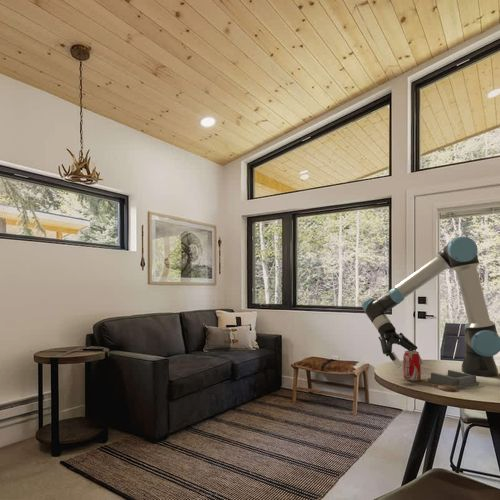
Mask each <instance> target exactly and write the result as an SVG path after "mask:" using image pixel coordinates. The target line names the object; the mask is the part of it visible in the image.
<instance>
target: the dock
mask: <svg viewBox="0 0 500 500" xmlns="http://www.w3.org/2000/svg"><path fill="white" fill-rule="evenodd" d="M427 381H428V382H429V383H434V384H437V385H440V384H446V385H452V386H456V387H457V390H462V389H466V388H472V387H478V386H479V385H480V381H477V375H473V374H468V373H465V372H462V371H461V372H460V371H457V370H451V369H448V370H447V374H446V375H445V374H441V373H436V372H430V377H428V379H427Z"/></svg>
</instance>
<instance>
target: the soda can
mask: <svg viewBox="0 0 500 500" xmlns="http://www.w3.org/2000/svg"><path fill="white" fill-rule="evenodd" d="M420 358H421V355H420V352H419V351H417V350H416V351H408V350H405V351H404V354H403V359H402V360H403V363H402V366H403V367H402V368H403V369H402V370H403V378H404V379H405V380H406V381H411V382H418V381H419V380H421V375H422V372H421V371H422V370H421V369H422V368H421V367H422V364H421V360H420Z"/></svg>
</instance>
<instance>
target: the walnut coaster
mask: <svg viewBox="0 0 500 500" xmlns="http://www.w3.org/2000/svg"><path fill="white" fill-rule="evenodd" d="M437 389H438V390H441V391H442V392H453V393H454V392H457V391H458V389H457V387H456V386H452V385H446V384H437Z"/></svg>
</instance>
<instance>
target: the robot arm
mask: <svg viewBox="0 0 500 500" xmlns="http://www.w3.org/2000/svg"><path fill="white" fill-rule="evenodd" d="M478 250H479V249H478V246H477V243H476V242H475V241H474V240H473V239H472V238H470V237H467V236H456V237H454V238H452V239H451V240H450V241H449V242H447V244H446V245H445V247H443V248H442V249H441V250H440V251H439V252H437V253H436V256H435V257H434V258H433V259H431V260H430V261H428V262H427V263H425V264H423V266H421V267H420V268H418V269H417V270H415V271H414V272H413V273H412V274H410V275H409V276H407V277H406V278H404V279H403V280H402V281H401V282H399V283H397V284H396V285H395V286H393V287H392V288H391V289H389V290H387V291H386V292H384V294H382V295H381V296H380V297H378V298H376V299H375V298H373V297H371V298H368V299H365V300H364V301H363V302H362V305H361V307H362V309H363V311H364V313H365V315H366V316H367V318H368V319H369V320H370V322H371V323H372V325H373V326H374V328H375V329H376V330H377V332H378V334H379V337H378V340H379V341H380V345H381V346H380V347H381V351H382V354H383V355H385V356H386V357H389V359H390V360H391V361H392V362H393V364H394V365H395V366H396V368H397V369H400V368H401V366H403V363H402V362H401V360H400V359H399V358H398V356H397V354H396V353H395V352H394V351H393V345H398V346H401V347H402V348H403V349H405V350H406V351H416V352H417V349H418V346H417V345H416V344H414V343H413V342H412V341H411V340H410V339H408V337H406V336H405V335H404V334H403V332H400V333H397V332H396V330H397V329H396V327H395V326H394V324H393V323H392V322H391V320H390V319H389V317H388V316H387V314H386V313H387V312H388V311H390V310H392V309H393V308H395V307H397V306H398V305H399V304H401V303H402V302H404V300H405V298H406V297H407V298H408V296H410V295H412V294H413V293H414V292H415V291H417V290H419V289H420V288H422V287H423V286H425V284H427V283H428V282H429V281H431V280H433V279H434V278H435V277H437V276H438V275H440V274H441V273H443V272H445V270H454V272H455V273H456V277H457V281H458V285H459V289H460V290H459V291H460V293H461V297H462V301H463V305H464V308H465V313H466V317H467V322H468V323H465V325H464V329H463V331H464V348H465V349H464V352H465V353H464V358H463V361H462V364H461V372H462V373H466V374H470V375H474V376H482V377H496V376H498V375H499V370H498V367H497V364H496V362H495V359H494V356H496V355H497V354H499V352H500V335H499V334H498V331H497V327H496V323H495V322H494V321H493V320H491V318H490V315H489V314H490V313H489V311H488V307H487V303H486V299H485V295H484V291H483V287H482V284H481V281H480V277H479V272H478V266H479V264H480V261H479V256H478ZM420 360H421V365H422V364H423V363H424V360H423V359H422V358H421V357H420Z"/></svg>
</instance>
